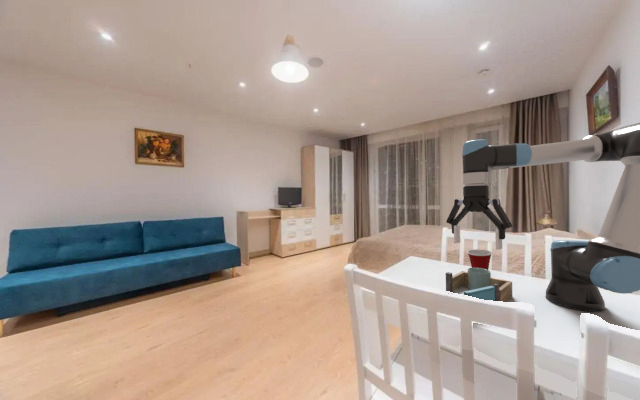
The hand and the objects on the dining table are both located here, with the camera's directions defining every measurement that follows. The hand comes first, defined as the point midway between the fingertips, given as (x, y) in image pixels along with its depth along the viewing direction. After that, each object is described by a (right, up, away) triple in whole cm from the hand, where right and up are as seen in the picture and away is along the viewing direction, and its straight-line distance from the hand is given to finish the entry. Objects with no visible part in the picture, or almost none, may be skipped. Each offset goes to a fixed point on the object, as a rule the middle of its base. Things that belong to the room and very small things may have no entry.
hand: (476, 245), depth 85 cm
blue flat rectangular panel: (+2, -23, +1) cm, 23 cm away
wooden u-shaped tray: (+10, -23, +14) cm, 29 cm away
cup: (+10, -23, +14) cm, 29 cm away
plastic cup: (+26, -22, +37) cm, 50 cm away
